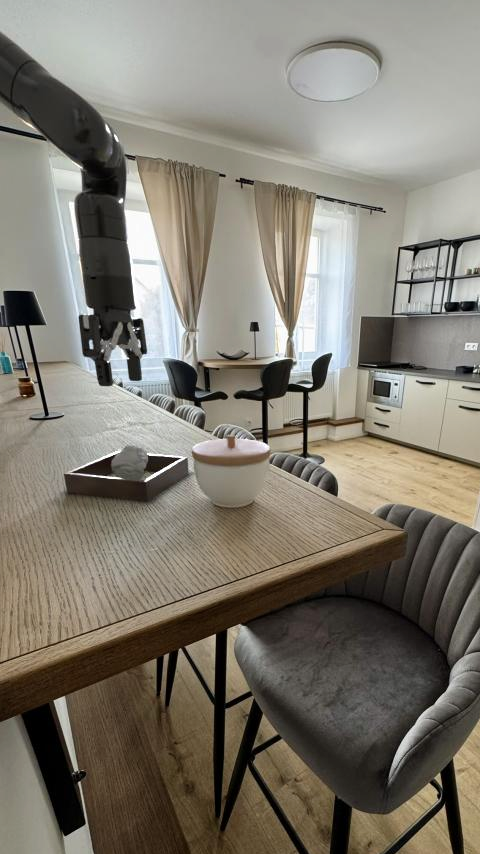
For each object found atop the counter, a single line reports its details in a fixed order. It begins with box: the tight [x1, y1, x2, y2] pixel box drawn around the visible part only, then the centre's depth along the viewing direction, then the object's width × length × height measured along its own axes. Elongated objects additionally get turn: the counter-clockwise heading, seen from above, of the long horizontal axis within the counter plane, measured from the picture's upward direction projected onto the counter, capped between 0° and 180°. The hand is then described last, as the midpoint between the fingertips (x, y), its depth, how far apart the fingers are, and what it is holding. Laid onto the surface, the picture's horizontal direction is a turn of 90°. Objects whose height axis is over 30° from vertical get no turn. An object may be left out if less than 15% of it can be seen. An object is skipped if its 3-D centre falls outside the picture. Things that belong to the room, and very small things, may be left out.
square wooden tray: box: [63, 450, 190, 503], centre depth 76 cm, size 16×16×4 cm
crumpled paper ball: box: [111, 444, 148, 480], centre depth 76 cm, size 6×7×7 cm
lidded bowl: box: [191, 434, 271, 509], centre depth 68 cm, size 13×13×11 cm
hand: (121, 383), depth 70 cm, fingers open, 8 cm apart
